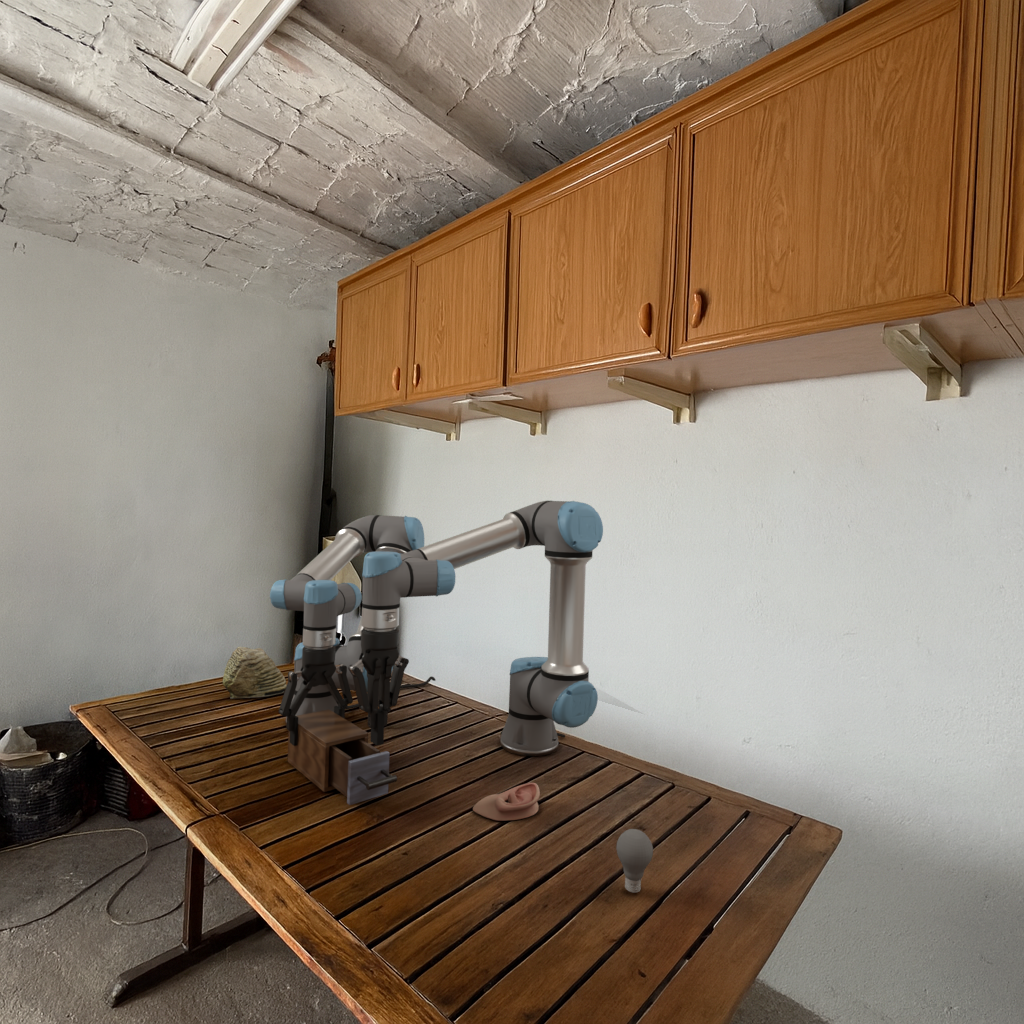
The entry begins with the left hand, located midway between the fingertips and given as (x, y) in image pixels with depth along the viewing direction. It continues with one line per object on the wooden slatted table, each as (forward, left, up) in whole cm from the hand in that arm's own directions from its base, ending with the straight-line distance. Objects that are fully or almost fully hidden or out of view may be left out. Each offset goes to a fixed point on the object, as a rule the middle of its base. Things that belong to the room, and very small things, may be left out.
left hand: (315, 738), depth 151 cm
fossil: (-16, -56, -6) cm, 58 cm away
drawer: (+3, +19, -4) cm, 20 cm away
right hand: (+5, +28, +8) cm, 29 cm away
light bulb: (-7, +81, -6) cm, 81 cm away
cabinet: (+1, +6, -6) cm, 8 cm away
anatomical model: (-14, +48, -6) cm, 50 cm away
